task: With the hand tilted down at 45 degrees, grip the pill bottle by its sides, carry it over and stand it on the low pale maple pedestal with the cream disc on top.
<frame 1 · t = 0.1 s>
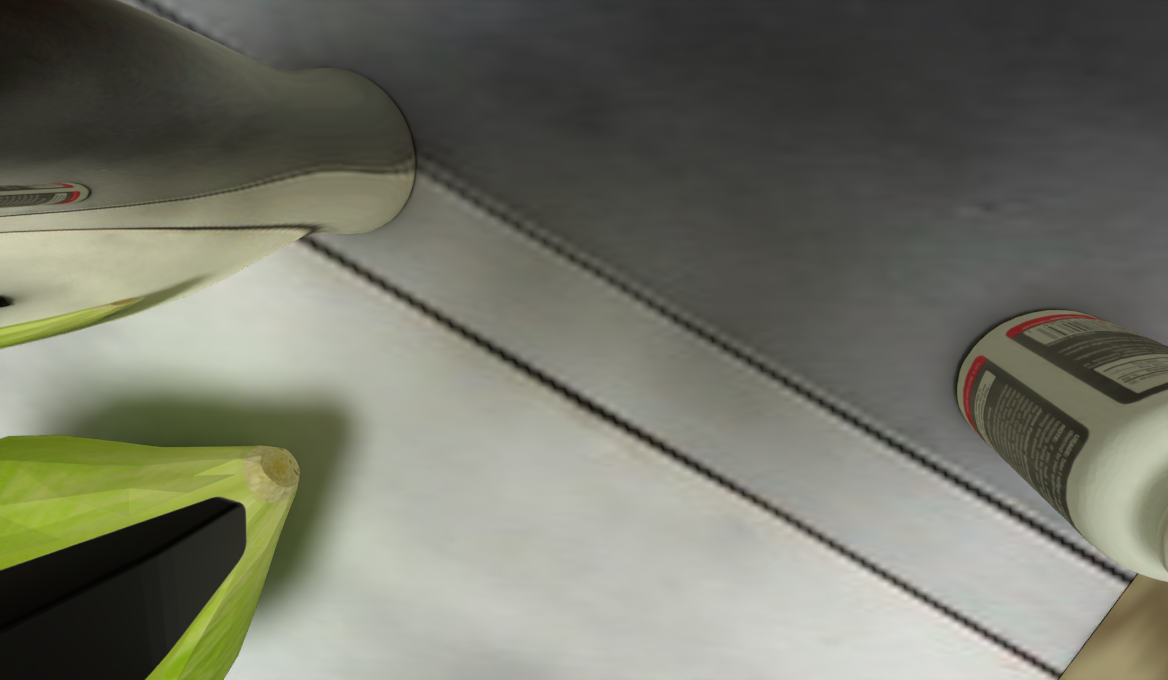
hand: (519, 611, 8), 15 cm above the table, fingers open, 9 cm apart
beer glass: (347, 154, 22), on the table
lettuce: (208, 494, 29), on the table
pill bottle: (1032, 375, 20), on the table
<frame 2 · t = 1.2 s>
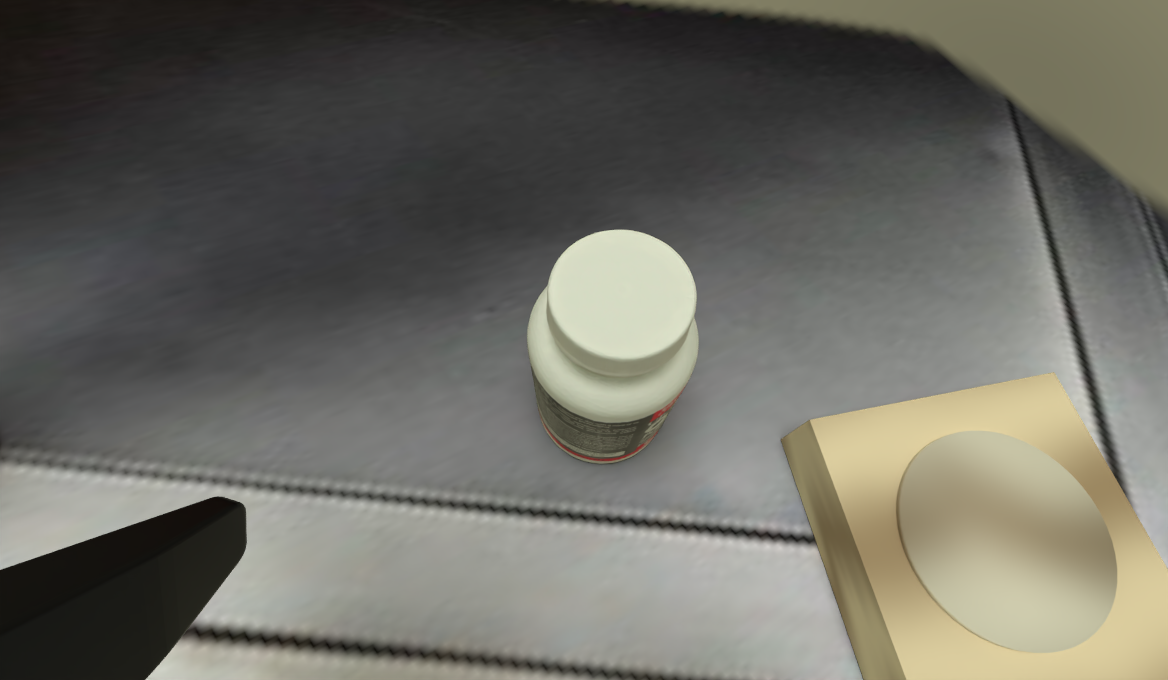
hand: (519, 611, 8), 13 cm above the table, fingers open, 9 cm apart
pill bottle: (601, 403, 23), on the table
pedestal: (945, 540, 21), on the table
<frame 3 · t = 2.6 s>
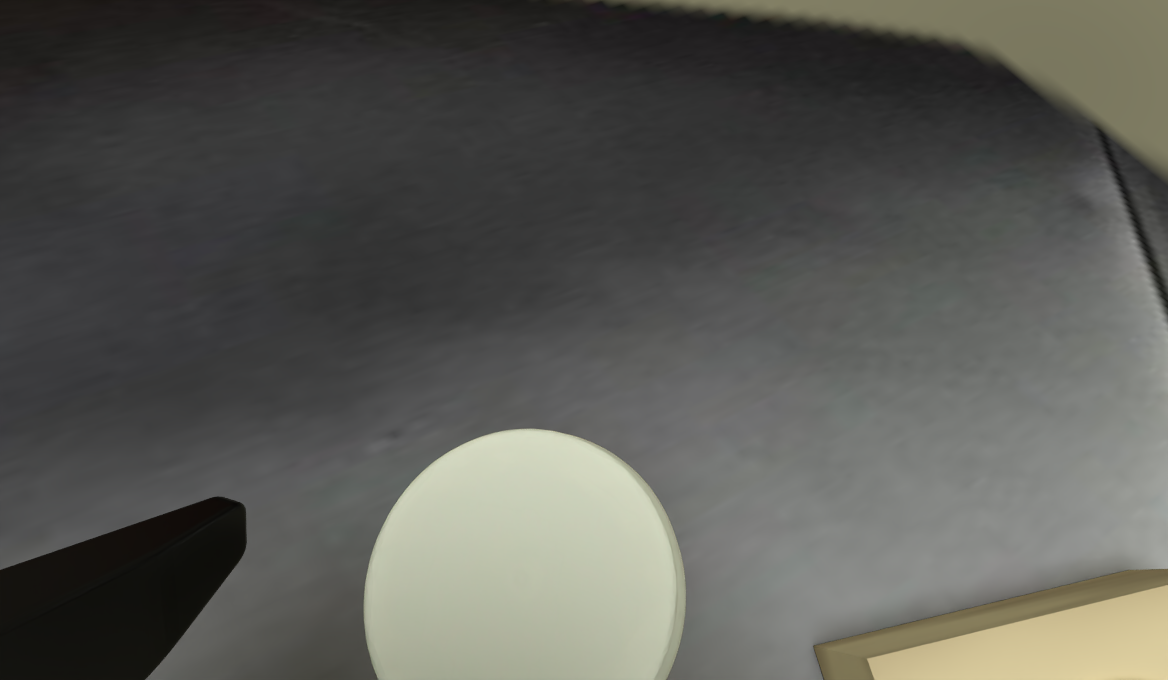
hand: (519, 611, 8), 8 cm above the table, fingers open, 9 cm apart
pill bottle: (547, 583, 16), on the table
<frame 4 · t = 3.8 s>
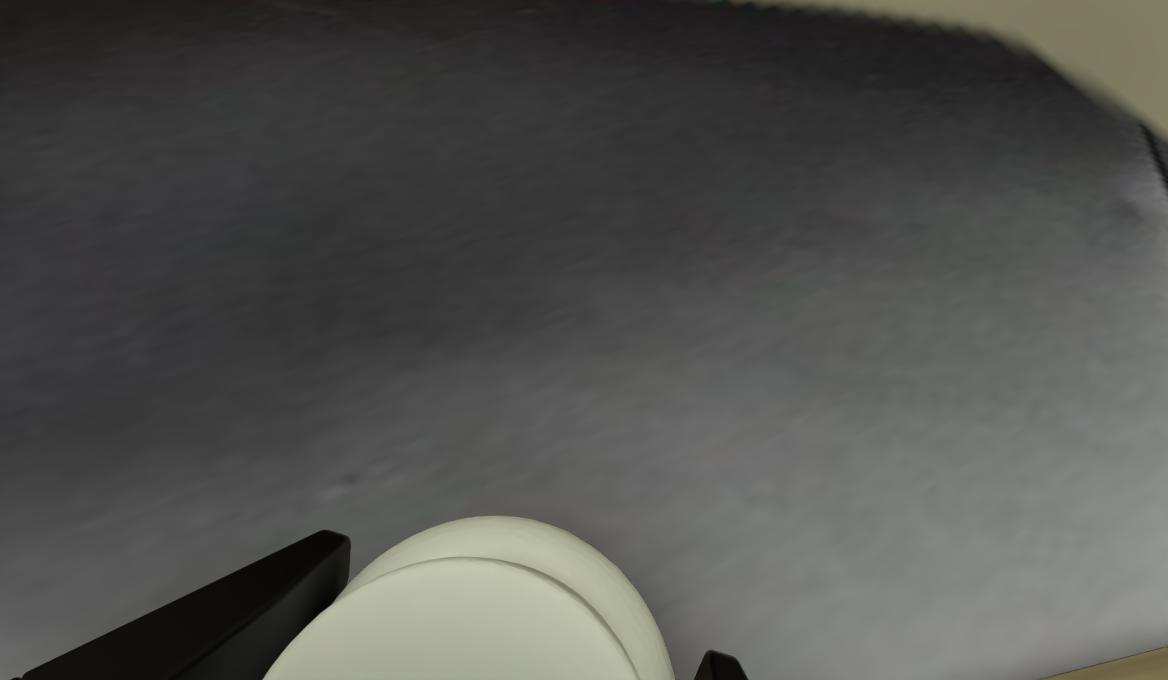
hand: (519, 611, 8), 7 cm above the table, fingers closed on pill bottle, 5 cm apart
pill bottle: (524, 657, 14), on the table, touching gripper
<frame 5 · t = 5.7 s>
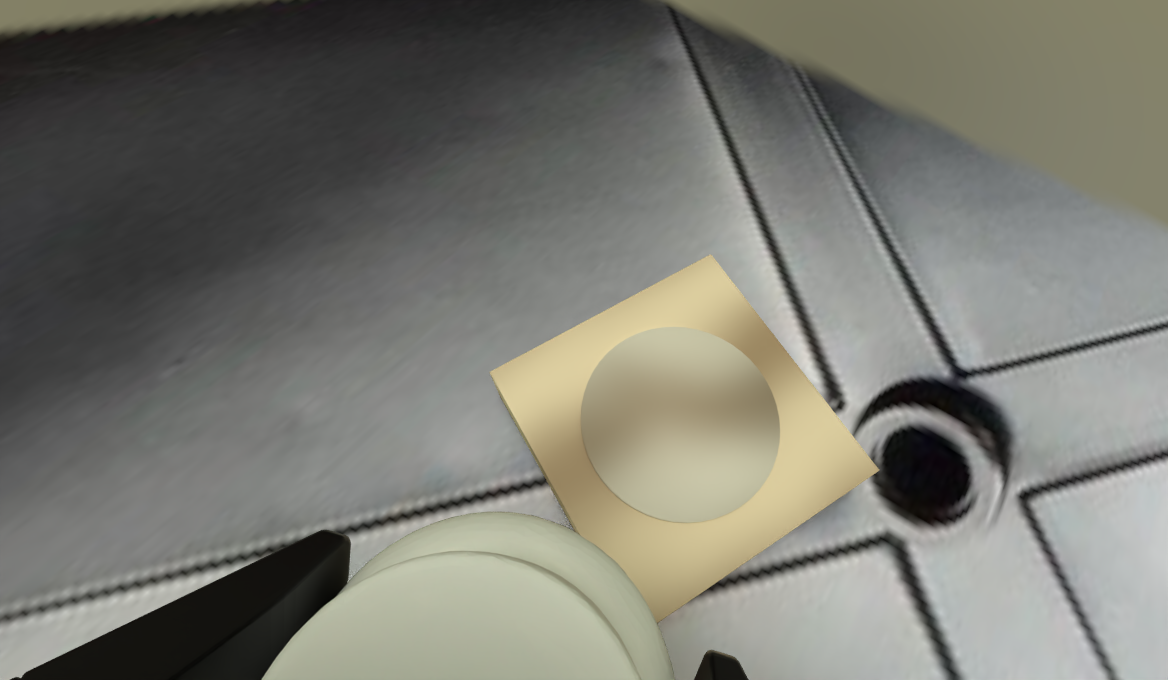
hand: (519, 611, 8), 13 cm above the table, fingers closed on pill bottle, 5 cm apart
pill bottle: (524, 653, 14), point 6 cm above the table, touching gripper
pedestal: (665, 438, 22), on the table
when the fingers open (11 cm above the table, at t = 7.6 s): pill bottle drops 1 cm, resting on pedestal.
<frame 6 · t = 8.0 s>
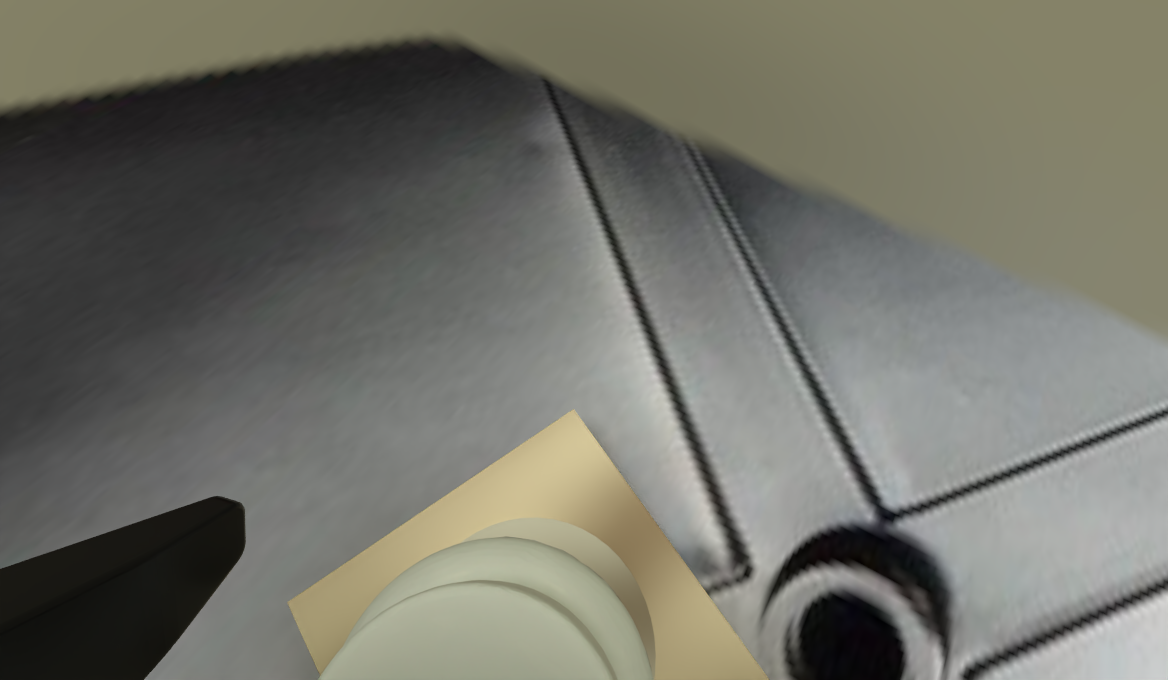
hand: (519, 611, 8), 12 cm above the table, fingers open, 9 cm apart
pill bottle: (527, 655, 15), point 3 cm above the table, touching pedestal
pedestal: (535, 638, 18), on the table
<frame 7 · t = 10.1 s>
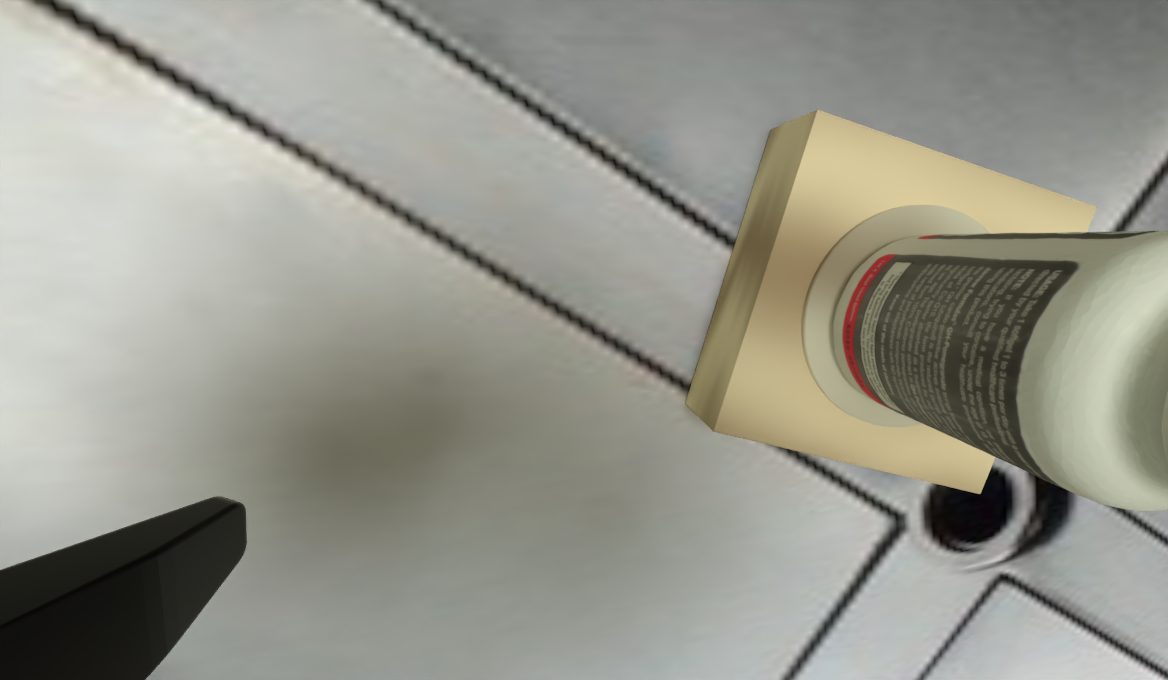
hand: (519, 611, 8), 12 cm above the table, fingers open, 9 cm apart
pill bottle: (904, 321, 17), point 3 cm above the table, touching pedestal
pedestal: (850, 307, 20), on the table
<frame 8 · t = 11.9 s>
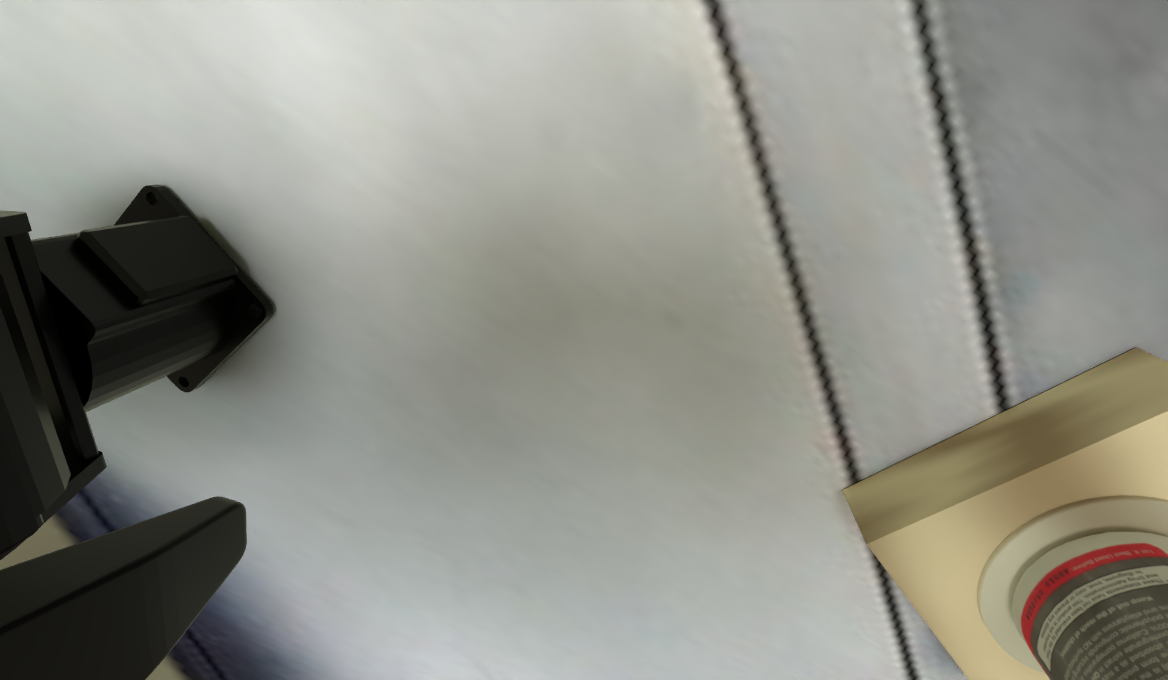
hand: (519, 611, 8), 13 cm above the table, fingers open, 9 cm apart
pill bottle: (1101, 592, 17), point 3 cm above the table, touching pedestal
pedestal: (1045, 527, 20), on the table
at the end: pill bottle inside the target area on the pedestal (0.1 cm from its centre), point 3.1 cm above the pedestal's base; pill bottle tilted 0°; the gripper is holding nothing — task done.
